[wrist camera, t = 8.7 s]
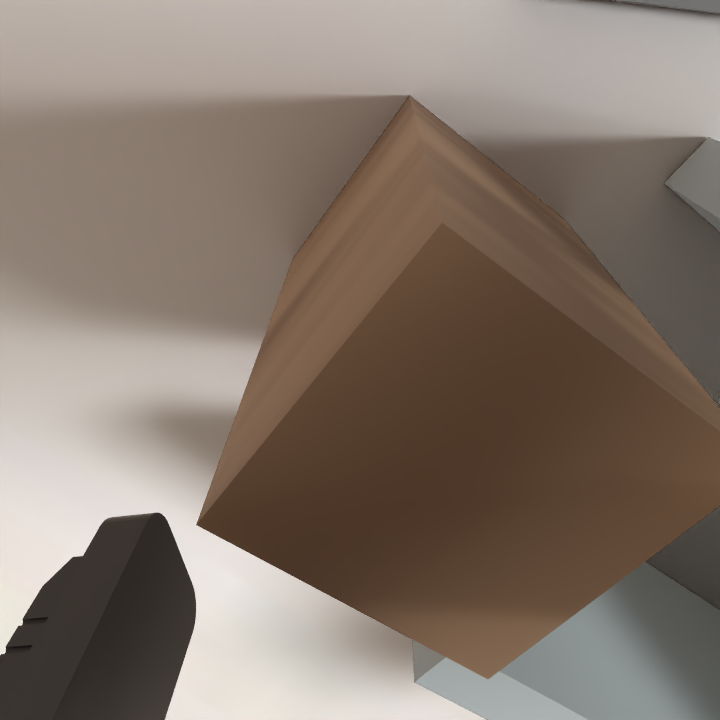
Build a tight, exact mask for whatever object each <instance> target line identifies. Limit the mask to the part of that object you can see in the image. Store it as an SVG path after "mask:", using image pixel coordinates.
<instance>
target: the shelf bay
mask: <svg viewBox="0 0 720 720" xmlns="http://www.w3.org/2000/svg"><path fill="white" fill-rule="evenodd" d="M665 184H666V185H667V186H668V187H669V188H671V189H672V190H673V191H674V192H675V193H676V194H677V195H679V196H680V197H681V198H682V199H683V200H684V201H685V202H686V203H688V204H689V205H690V206H691V207H692V208H693V209H694V210H696V211H697V212H698V213H699V214H700V215H701V216H702V217H704V218H705V219H706V220H707V221H708V222H709V223H710V224H711V225H713V226H714V227H715V228H716V229H717V230H718V231H719V232H720V142H719V141H716V140H714V139H711V138H709V137H708V138H707V139H706V140H705V141H704V142H703V143H702V144H701V145H700V146H699V147H698V149H697V150H696V151H695V152H694V153H693V154H692V155H691V156H690V157H689V158H688V159H687V160H686V161H685V162H684V163H683V164H682V165H681V166H680V167H679V168H678V169H677V170H676V171H675V172H674V173H673V174H672V175H671V176H670V177H669V179H668V180H667V181H666V182H665ZM413 662H414V682H415V683H417V684H419V685H421V686H423V687H424V688H426V689H428V690H430V691H432V692H434V693H436V694H438V695H440V696H442V697H444V698H446V699H448V700H450V701H452V702H454V703H456V704H458V705H459V706H461V707H463V708H465V709H467V710H469V711H471V712H473V713H475V714H477V715H479V716H481V717H483V718H485V719H487V720H720V610H719V609H717V608H716V607H714V606H713V605H711V604H710V603H708V602H707V601H705V600H703V599H702V598H700V597H699V596H697V595H696V594H694V593H693V592H691V591H690V590H688V589H687V588H685V587H684V586H682V585H680V584H679V583H677V582H676V581H674V580H673V579H671V578H670V577H668V576H667V575H665V574H664V573H662V572H661V571H659V570H657V569H656V568H654V567H653V566H651V565H650V564H648V563H647V562H644V563H643V564H642V565H640V566H639V567H638V568H636V569H635V570H634V571H632V572H631V573H630V574H628V575H627V576H626V577H624V578H623V579H622V580H620V581H619V582H618V583H616V584H615V585H614V586H612V587H611V588H610V589H608V590H607V591H606V592H604V593H603V594H602V595H600V596H599V597H598V598H596V599H595V600H594V601H592V602H591V603H590V604H588V605H587V606H586V607H584V608H583V609H582V610H580V611H579V612H578V613H576V614H575V615H574V616H572V617H571V618H570V619H568V620H567V621H566V622H564V623H563V624H562V625H560V626H559V627H558V628H556V629H555V630H554V631H552V632H551V633H550V634H548V635H547V636H546V637H544V638H543V639H542V640H540V641H539V642H538V643H536V644H535V645H534V646H532V647H531V648H530V649H528V650H527V651H526V652H524V653H523V654H522V655H520V656H519V657H518V658H516V659H515V660H514V661H512V662H511V663H510V664H508V665H507V666H506V667H504V668H503V669H502V670H500V671H499V672H498V673H496V674H495V675H494V676H492V677H491V678H490V679H486V678H484V677H482V676H480V675H479V674H477V673H475V672H473V671H471V670H469V669H467V668H465V667H464V666H462V665H460V664H458V663H456V662H454V661H452V660H450V659H448V658H447V657H445V656H443V655H441V654H439V653H437V652H435V651H433V650H431V649H430V648H428V647H426V646H424V645H422V644H420V643H418V642H416V641H414V640H413Z"/></svg>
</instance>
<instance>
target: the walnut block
mask: <svg viewBox="0 0 720 720" xmlns="http://www.w3.org/2000/svg"><path fill="white" fill-rule="evenodd" d="M719 506H720V407H719V406H718V405H717V404H716V403H715V401H714V400H713V399H712V398H711V397H710V395H709V394H708V393H707V392H706V390H705V389H704V388H703V387H702V386H701V384H700V383H699V382H698V381H697V379H696V378H695V377H694V376H693V375H692V373H691V372H690V371H689V370H688V369H687V367H686V366H685V365H684V364H683V362H682V361H681V360H680V359H679V358H678V356H677V355H676V354H675V353H674V352H673V350H672V349H671V348H670V347H669V345H668V344H667V343H666V342H665V341H664V339H663V338H662V337H661V336H660V335H659V333H658V332H657V331H656V330H655V328H654V327H653V326H652V325H651V324H650V322H649V321H648V320H647V319H646V318H645V316H644V315H643V314H642V313H641V311H640V310H639V309H638V308H637V307H636V305H635V304H634V303H633V302H632V301H631V299H630V298H629V297H628V296H627V294H626V293H625V292H624V291H623V290H622V288H621V287H620V286H619V285H618V284H617V282H616V281H615V280H614V279H613V277H612V276H611V275H610V274H609V273H608V271H607V270H606V269H605V268H604V266H603V265H602V264H601V263H600V262H599V260H598V259H597V258H596V257H595V256H594V254H593V253H592V252H591V251H590V249H589V248H588V247H587V246H586V245H585V243H584V242H583V241H582V240H581V239H580V237H579V236H578V235H577V234H576V232H575V231H574V230H573V229H572V228H571V226H570V225H569V224H568V223H567V222H566V220H564V219H563V218H562V217H561V216H559V215H558V214H557V213H556V212H554V211H553V210H552V209H551V208H549V207H548V206H547V205H546V204H544V203H543V202H542V201H541V200H539V199H538V198H537V197H536V196H534V195H533V194H532V193H531V192H529V191H528V190H527V189H526V188H525V187H523V186H522V185H521V184H520V183H518V182H517V181H516V180H515V179H513V178H512V177H511V176H510V175H508V174H507V173H506V172H505V171H503V170H502V169H501V168H500V167H498V166H497V165H496V164H495V163H493V162H492V161H491V160H490V159H488V158H487V157H486V156H485V155H483V154H482V153H481V152H480V151H478V150H477V149H476V148H475V147H473V146H472V145H471V144H470V143H468V142H467V141H466V140H465V139H463V138H462V137H461V136H460V135H458V134H457V133H456V132H455V131H453V130H452V129H451V128H450V127H449V126H447V125H446V124H445V123H444V122H442V121H441V120H440V119H439V118H437V117H436V116H435V115H434V114H432V113H431V112H430V111H429V110H427V109H426V108H425V107H424V106H422V105H421V104H420V103H419V102H417V101H416V100H415V99H414V98H412V97H411V96H409V97H408V98H407V100H406V101H405V103H404V104H403V105H402V107H401V108H400V110H399V111H398V112H397V114H396V115H395V117H394V118H393V119H392V121H391V122H390V124H389V125H388V126H387V128H386V129H385V131H384V132H383V133H382V135H381V136H380V138H379V139H378V140H377V142H376V143H375V145H374V146H373V147H372V149H371V150H370V152H369V153H368V154H367V156H366V157H365V159H364V160H363V161H362V163H361V164H360V166H359V167H358V168H357V170H356V171H355V173H354V174H353V175H352V177H351V178H350V180H349V181H348V182H347V184H346V185H345V187H344V188H343V189H342V191H341V192H340V194H339V195H338V196H337V198H336V199H335V201H334V202H333V203H332V205H331V206H330V208H329V209H328V210H327V212H326V213H325V215H324V216H323V217H322V219H321V220H320V222H319V223H318V224H317V226H316V227H315V229H314V230H313V231H312V233H311V234H310V235H309V237H308V238H307V240H306V241H305V242H304V244H303V245H302V247H301V248H300V249H299V251H298V252H297V254H296V255H295V256H294V258H293V260H292V262H291V265H290V268H289V271H288V273H287V276H286V279H285V282H284V284H283V287H282V290H281V293H280V295H279V298H278V301H277V304H276V306H275V309H274V312H273V315H272V318H271V320H270V323H269V326H268V329H267V331H266V334H265V337H264V340H263V342H262V345H261V348H260V351H259V353H258V356H257V359H256V362H255V364H254V367H253V370H252V373H251V375H250V378H249V381H248V384H247V386H246V389H245V392H244V395H243V397H242V400H241V403H240V406H239V409H238V411H237V414H236V417H235V420H234V422H233V425H232V428H231V431H230V433H229V436H228V439H227V442H226V444H225V447H224V450H223V453H222V455H221V458H220V461H219V464H218V466H217V469H216V472H215V475H214V477H213V480H212V483H211V486H210V489H209V491H208V494H207V497H206V500H205V502H204V505H203V508H202V511H201V513H200V516H199V519H198V522H197V524H196V525H198V526H200V527H201V528H203V529H205V530H207V531H209V532H211V533H213V534H215V535H216V536H218V537H220V538H222V539H224V540H226V541H228V542H230V543H232V544H233V545H235V546H237V547H239V548H241V549H243V550H245V551H247V552H249V553H250V554H252V555H254V556H256V557H258V558H260V559H262V560H264V561H266V562H267V563H269V564H271V565H273V566H275V567H277V568H279V569H281V570H282V571H284V572H286V573H288V574H290V575H292V576H294V577H296V578H298V579H299V580H301V581H303V582H305V583H307V584H309V585H311V586H313V587H315V588H316V589H318V590H320V591H322V592H324V593H326V594H328V595H330V596H332V597H333V598H335V599H337V600H339V601H341V602H343V603H345V604H347V605H348V606H350V607H352V608H354V609H356V610H358V611H360V612H362V613H364V614H365V615H367V616H369V617H371V618H373V619H375V620H377V621H379V622H381V623H382V624H384V625H386V626H388V627H390V628H392V629H394V630H396V631H398V632H399V633H401V634H403V635H405V636H407V637H409V638H411V639H413V640H414V641H416V642H418V643H420V644H422V645H424V646H426V647H428V648H430V649H431V650H433V651H435V652H437V653H439V654H441V655H443V656H445V657H447V658H448V659H450V660H452V661H454V662H456V663H458V664H460V665H462V666H464V667H465V668H467V669H469V670H471V671H473V672H475V673H477V674H479V675H480V676H482V677H484V678H486V679H490V678H491V677H492V676H494V675H495V674H496V673H498V672H499V671H500V670H502V669H503V668H504V667H506V666H507V665H508V664H510V663H511V662H512V661H514V660H515V659H516V658H518V657H519V656H520V655H522V654H523V653H524V652H526V651H527V650H528V649H530V648H531V647H532V646H534V645H535V644H536V643H538V642H539V641H540V640H542V639H543V638H544V637H546V636H547V635H548V634H550V633H551V632H552V631H554V630H555V629H556V628H558V627H559V626H560V625H562V624H563V623H564V622H566V621H567V620H568V619H570V618H571V617H572V616H574V615H575V614H576V613H578V612H579V611H580V610H582V609H583V608H584V607H586V606H587V605H588V604H590V603H591V602H592V601H594V600H595V599H596V598H598V597H599V596H600V595H602V594H603V593H604V592H606V591H607V590H608V589H610V588H611V587H612V586H614V585H615V584H616V583H618V582H619V581H620V580H622V579H623V578H624V577H626V576H627V575H628V574H630V573H631V572H632V571H634V570H635V569H636V568H638V567H639V566H640V565H642V564H643V563H644V562H646V561H647V560H648V559H650V558H651V557H652V556H654V555H655V554H656V553H658V552H659V551H660V550H662V549H663V548H664V547H666V546H667V545H668V544H670V543H671V542H672V541H674V540H675V539H676V538H678V537H679V536H680V535H682V534H683V533H684V532H686V531H687V530H688V529H690V528H691V527H693V526H694V525H695V524H697V523H698V522H699V521H701V520H702V519H703V518H705V517H706V516H707V515H709V514H710V513H711V512H713V511H714V510H715V509H717V508H718V507H719Z"/></svg>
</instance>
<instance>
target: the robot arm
mask: <svg viewBox="0 0 720 720" xmlns="http://www.w3.org/2000/svg"><path fill="white" fill-rule="evenodd" d="M195 617H196V599H195V592H194V588H193V585H192V582H191V579H190V577H189V574H188V572H187V569H186V567H185V564H184V562H183V559H182V557H181V554H180V551H179V549H178V546H177V544H176V541H175V539H174V536H173V534H172V531H171V529H170V526H169V524H168V521H167V520H166V518H165V517H164V516H163V515H162V514H160V513H150V514H140V515H130V516H121V517H111V518H108V519H106V520H105V521H104V522H103V523H102V524H101V526H100V527H99V529H98V531H97V533H96V534H95V536H94V538H93V540H92V541H91V543H90V545H89V547H88V548H87V550H86V552H85V554H84V555H83V556H80V557H73V558H72V559H70V560H69V561H68V562H67V563H66V564H65V565H64V566H63V567H62V568H61V569H60V570H59V571H58V572H57V573H56V574H55V575H54V576H53V577H52V578H51V579H50V580H49V581H48V582H47V583H45V584H44V585H43V586H42V588H41V590H40V591H39V593H38V595H37V596H36V598H35V600H34V601H33V603H32V604H31V606H30V608H29V609H28V611H27V613H26V614H25V616H24V618H23V625H22V626H18V628H17V629H16V631H15V632H14V634H13V636H12V637H11V639H10V641H9V642H8V644H7V646H6V653H5V654H1V655H0V720H165V717H166V714H167V711H168V707H169V704H170V701H171V698H172V695H173V692H174V689H175V686H176V683H177V679H178V676H179V673H180V670H181V667H182V664H183V661H184V658H185V655H186V651H187V648H188V645H189V642H190V639H191V636H192V633H193V629H194V624H195Z"/></svg>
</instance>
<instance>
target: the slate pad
mask: <svg viewBox="0 0 720 720" xmlns="http://www.w3.org/2000/svg"><path fill="white" fill-rule="evenodd" d="M609 1H617V2H625V3H633V4H641V5H649V6H657V7H665V8H673V9H680V10H688V11H696V12H704V13H712V14H720V0H609Z"/></svg>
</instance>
